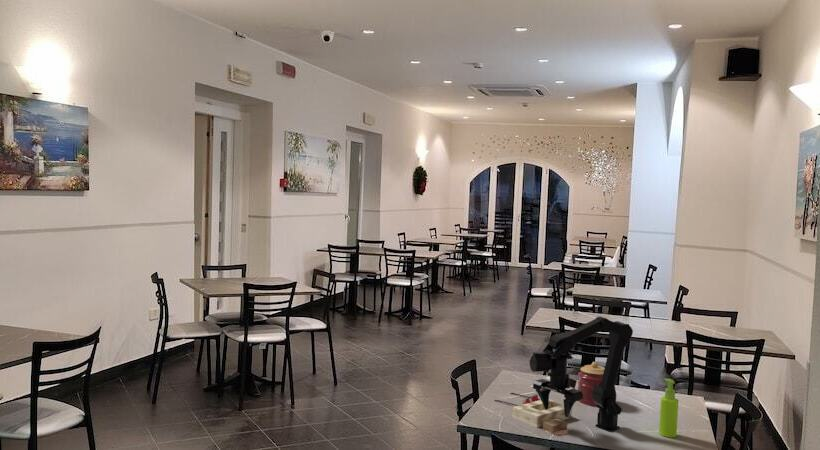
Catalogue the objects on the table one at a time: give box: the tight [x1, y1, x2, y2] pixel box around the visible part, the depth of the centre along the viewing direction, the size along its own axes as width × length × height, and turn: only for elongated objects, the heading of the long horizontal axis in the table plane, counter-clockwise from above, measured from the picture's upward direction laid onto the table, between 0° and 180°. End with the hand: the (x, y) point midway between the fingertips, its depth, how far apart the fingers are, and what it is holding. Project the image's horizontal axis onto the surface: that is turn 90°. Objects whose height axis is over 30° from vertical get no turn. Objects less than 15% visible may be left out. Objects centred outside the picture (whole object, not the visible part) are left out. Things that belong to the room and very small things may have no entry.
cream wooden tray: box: [512, 398, 573, 428], centre depth 244 cm, size 20×12×5 cm, turn 128°
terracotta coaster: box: [544, 428, 569, 436], centre depth 232 cm, size 9×9×1 cm
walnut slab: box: [542, 418, 568, 434], centre depth 232 cm, size 8×4×2 cm, turn 127°
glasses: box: [493, 392, 541, 407], centre depth 262 cm, size 14×16×5 cm
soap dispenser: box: [658, 378, 679, 438], centre depth 233 cm, size 6×7×20 cm
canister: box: [577, 361, 605, 408], centre depth 266 cm, size 13×13×18 cm
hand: (556, 413), depth 232 cm, fingers open, 9 cm apart
